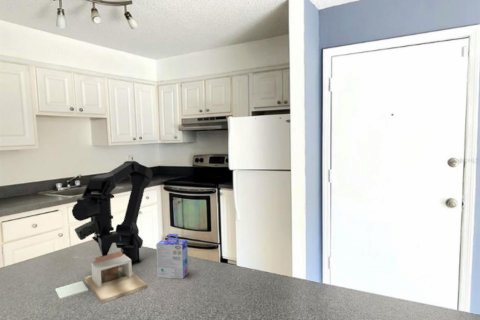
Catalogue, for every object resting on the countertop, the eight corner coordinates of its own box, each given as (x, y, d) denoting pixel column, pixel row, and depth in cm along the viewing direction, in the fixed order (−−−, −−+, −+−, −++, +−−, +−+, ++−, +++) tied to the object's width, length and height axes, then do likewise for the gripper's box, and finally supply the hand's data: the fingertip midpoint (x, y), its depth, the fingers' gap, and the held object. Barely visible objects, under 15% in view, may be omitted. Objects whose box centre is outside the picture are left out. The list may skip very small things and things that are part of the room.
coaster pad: (82, 282, 105) (81, 281, 105) (88, 291, 99) (88, 289, 99) (55, 290, 100) (54, 288, 100) (60, 300, 94) (59, 298, 94)
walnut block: (114, 274, 110) (113, 259, 110) (118, 278, 107) (118, 263, 106) (101, 278, 107) (100, 263, 107) (105, 283, 104) (104, 267, 103)
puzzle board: (124, 269, 115) (124, 265, 115) (147, 288, 100) (147, 284, 100) (84, 280, 106) (84, 277, 106) (102, 303, 91) (101, 299, 91)
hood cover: (124, 270, 111) (123, 250, 111) (132, 276, 106) (131, 255, 105) (92, 279, 104) (90, 258, 103) (98, 287, 99) (97, 264, 98)
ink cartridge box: (189, 272, 111) (187, 233, 110) (183, 279, 106) (182, 238, 105) (163, 271, 113) (161, 232, 112) (156, 277, 107) (155, 237, 106)
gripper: (70, 212, 108) (72, 255, 109) (83, 223, 93) (86, 272, 95) (103, 207, 115) (105, 248, 116) (120, 216, 101) (122, 262, 102)
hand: (104, 257), depth 107 cm, fingers closed
